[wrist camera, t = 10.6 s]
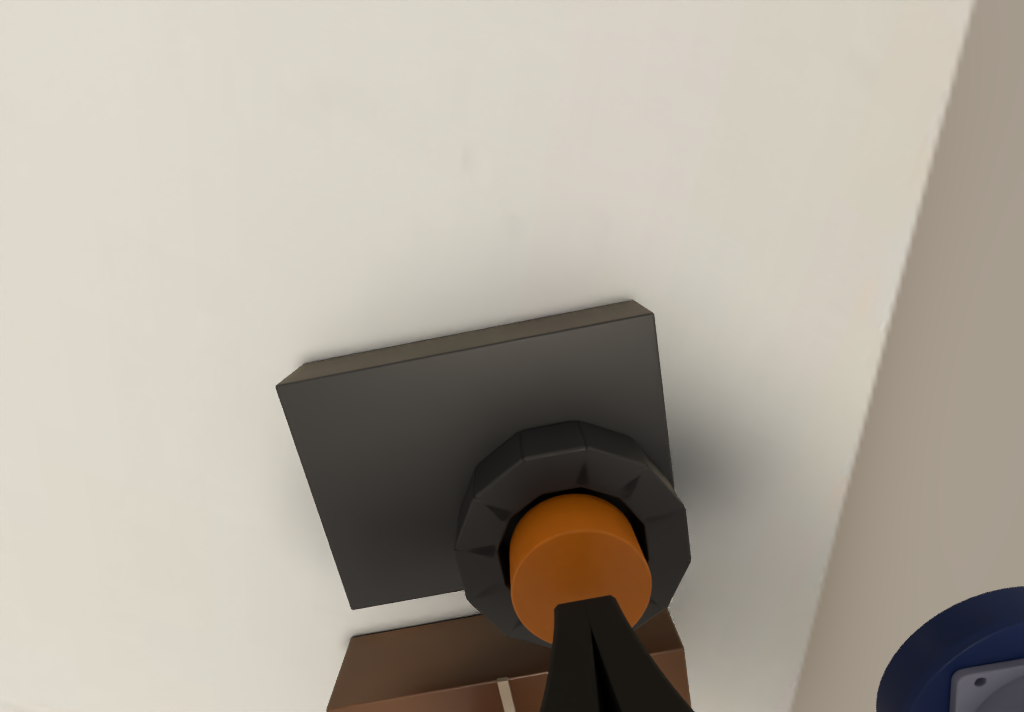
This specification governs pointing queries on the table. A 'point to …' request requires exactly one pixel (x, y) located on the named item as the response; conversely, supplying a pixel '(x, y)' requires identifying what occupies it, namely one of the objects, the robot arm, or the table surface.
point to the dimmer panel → (469, 668)
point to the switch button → (575, 560)
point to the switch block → (486, 453)
